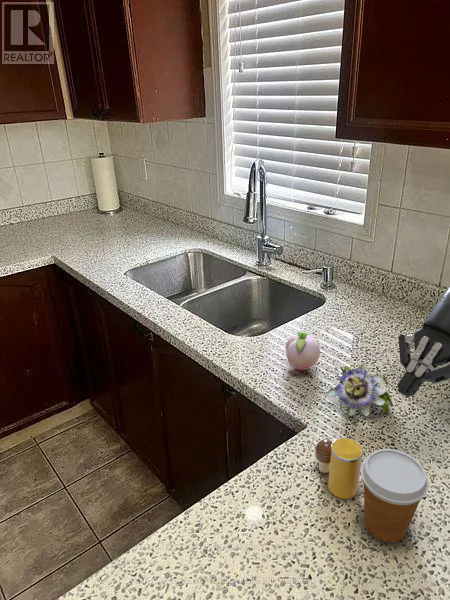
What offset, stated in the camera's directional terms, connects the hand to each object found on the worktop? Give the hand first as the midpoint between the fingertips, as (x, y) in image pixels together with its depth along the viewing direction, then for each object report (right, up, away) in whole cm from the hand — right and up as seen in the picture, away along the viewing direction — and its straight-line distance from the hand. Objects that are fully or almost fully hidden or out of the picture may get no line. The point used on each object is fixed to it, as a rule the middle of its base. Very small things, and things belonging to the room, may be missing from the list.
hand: (402, 394), depth 78 cm
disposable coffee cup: (-5, -20, -6) cm, 21 cm away
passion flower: (-1, -7, +20) cm, 22 cm away
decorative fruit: (-12, -1, +34) cm, 36 cm away
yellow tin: (-10, -16, +1) cm, 19 cm away
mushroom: (-13, -15, +4) cm, 20 cm away
